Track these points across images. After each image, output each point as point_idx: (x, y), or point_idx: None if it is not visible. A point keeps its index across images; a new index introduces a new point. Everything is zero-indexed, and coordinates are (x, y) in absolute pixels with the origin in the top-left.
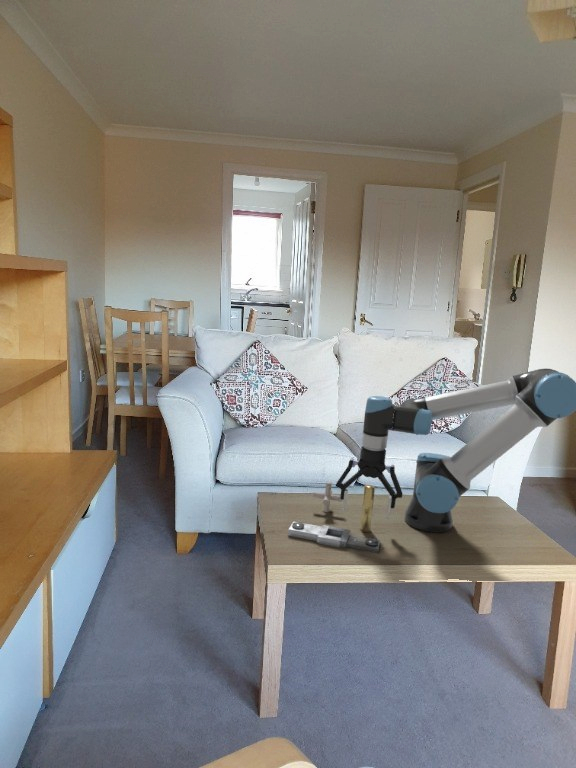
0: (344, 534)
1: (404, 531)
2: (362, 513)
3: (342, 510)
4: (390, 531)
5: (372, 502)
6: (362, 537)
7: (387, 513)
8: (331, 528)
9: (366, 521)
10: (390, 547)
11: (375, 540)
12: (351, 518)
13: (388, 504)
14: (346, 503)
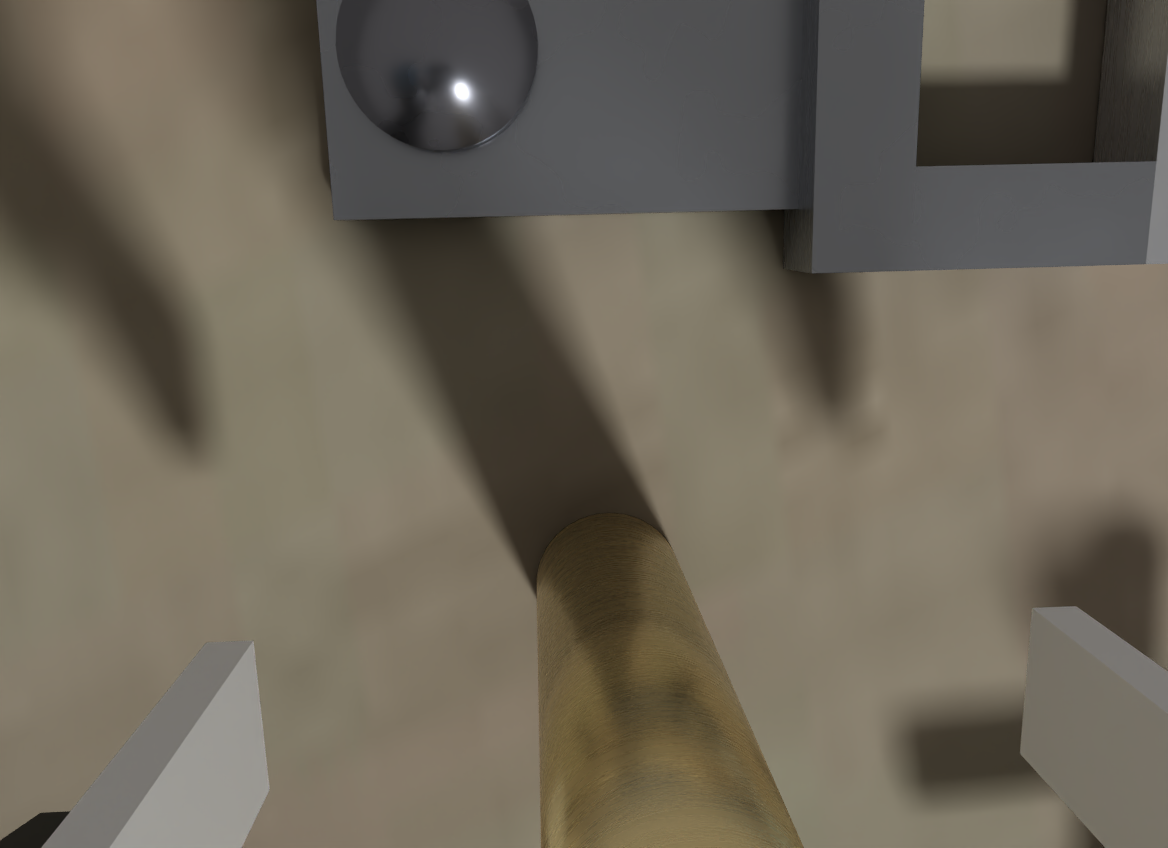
0: (887, 57)
1: (89, 764)
2: (711, 648)
3: (1079, 609)
4: (269, 679)
5: (556, 819)
6: (603, 200)
7: (212, 696)
8: (1106, 192)
9: (608, 571)
10: (176, 161)
11: (387, 105)
12: (828, 833)
13: (124, 821)
14: (1076, 793)
